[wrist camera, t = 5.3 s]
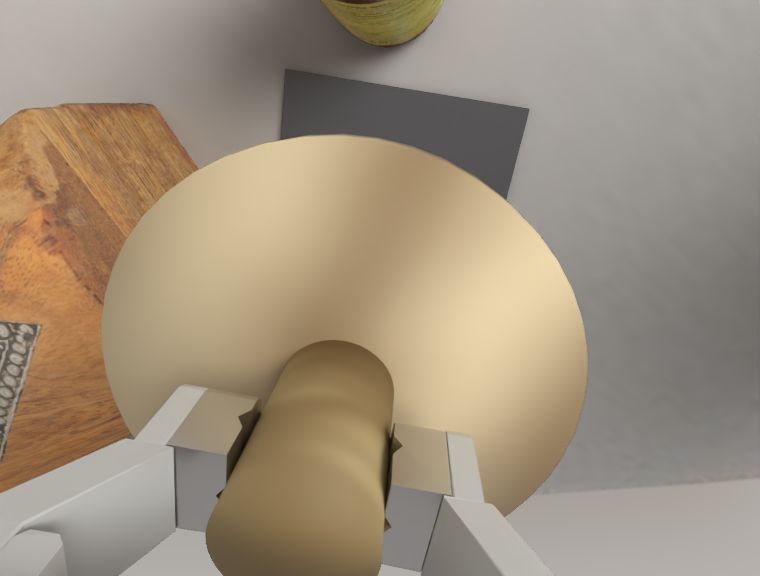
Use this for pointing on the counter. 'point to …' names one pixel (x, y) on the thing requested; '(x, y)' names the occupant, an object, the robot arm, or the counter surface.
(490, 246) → the lid
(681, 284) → the counter surface
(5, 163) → the wooden box
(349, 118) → the mat
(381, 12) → the sauce bottle
